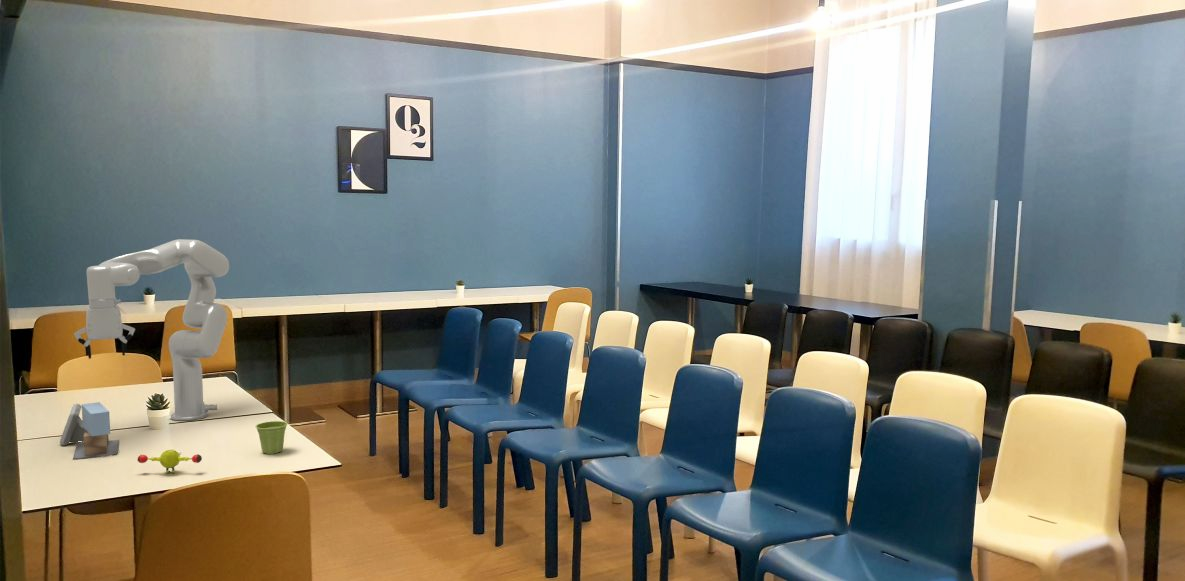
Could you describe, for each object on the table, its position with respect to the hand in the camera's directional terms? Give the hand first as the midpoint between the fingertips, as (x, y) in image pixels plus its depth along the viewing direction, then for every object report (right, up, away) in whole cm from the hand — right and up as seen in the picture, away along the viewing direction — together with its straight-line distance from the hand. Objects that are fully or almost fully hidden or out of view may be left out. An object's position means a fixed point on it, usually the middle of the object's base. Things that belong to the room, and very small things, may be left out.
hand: (106, 356), depth 287 cm
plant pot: (+57, -29, -10) cm, 65 cm away
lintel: (+2, -22, -9) cm, 24 cm away
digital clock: (-13, -28, +3) cm, 31 cm away
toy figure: (+36, -31, -32) cm, 57 cm away
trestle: (+2, -29, -9) cm, 30 cm away
